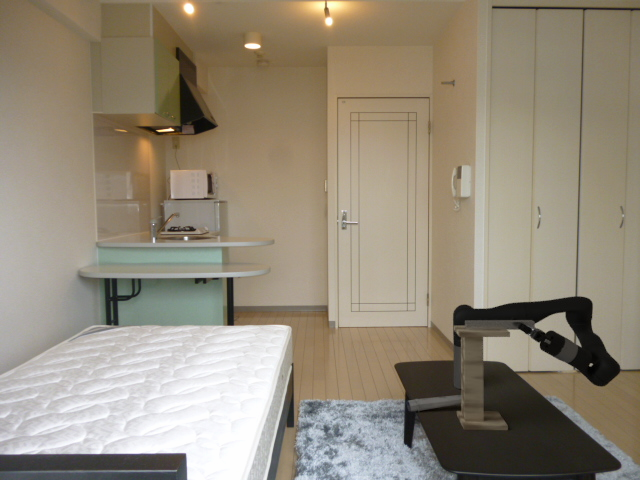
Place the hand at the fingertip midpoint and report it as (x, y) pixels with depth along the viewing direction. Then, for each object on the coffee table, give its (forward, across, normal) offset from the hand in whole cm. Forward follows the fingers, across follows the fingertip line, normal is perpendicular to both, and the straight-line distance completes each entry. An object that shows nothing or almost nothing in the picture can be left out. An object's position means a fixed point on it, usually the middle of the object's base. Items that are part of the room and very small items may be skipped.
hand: (515, 322), depth 165 cm
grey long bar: (+3, 0, +4) cm, 6 cm away
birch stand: (-7, 0, +35) cm, 36 cm away
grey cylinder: (+2, -10, +41) cm, 42 cm away
